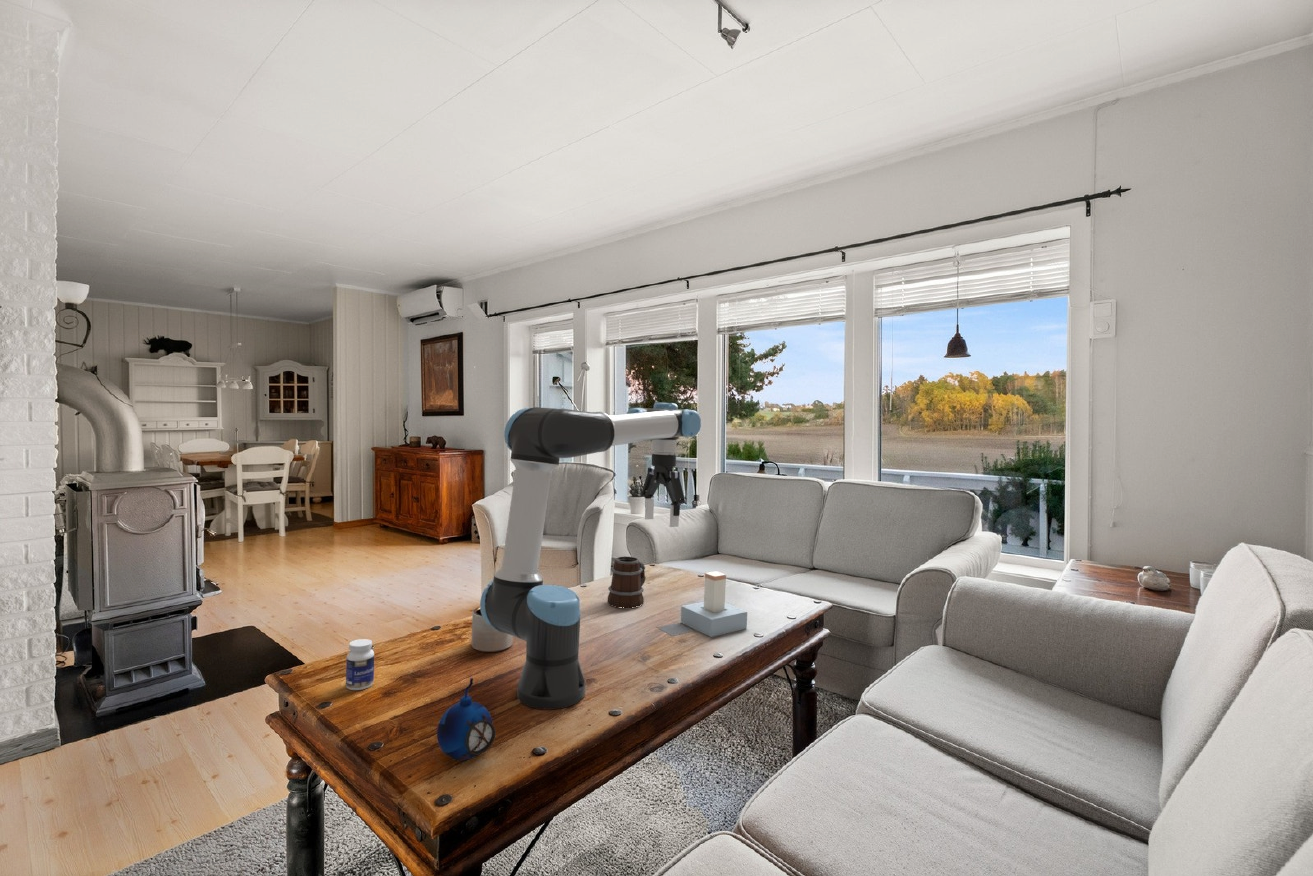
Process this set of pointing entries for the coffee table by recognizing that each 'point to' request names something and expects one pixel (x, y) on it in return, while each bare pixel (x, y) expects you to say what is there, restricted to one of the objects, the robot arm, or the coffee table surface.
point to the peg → (714, 592)
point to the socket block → (713, 619)
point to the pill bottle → (360, 665)
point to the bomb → (465, 729)
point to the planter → (487, 635)
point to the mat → (675, 629)
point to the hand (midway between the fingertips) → (661, 522)
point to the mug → (627, 583)
